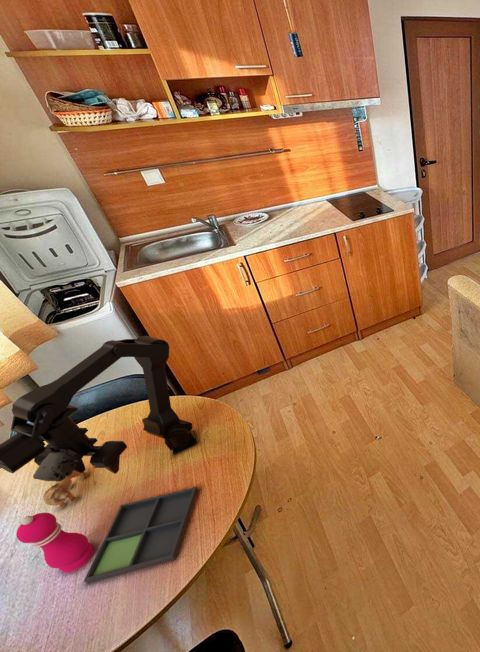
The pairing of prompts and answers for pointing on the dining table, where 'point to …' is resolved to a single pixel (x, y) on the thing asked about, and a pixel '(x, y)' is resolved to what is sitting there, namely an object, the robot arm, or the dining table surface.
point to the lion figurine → (61, 491)
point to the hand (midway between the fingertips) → (100, 471)
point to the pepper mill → (55, 542)
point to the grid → (143, 535)
